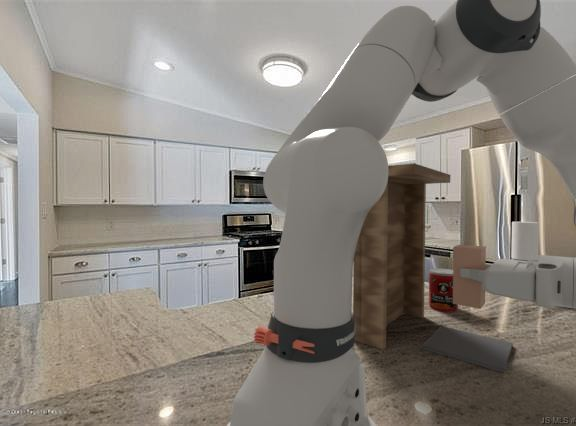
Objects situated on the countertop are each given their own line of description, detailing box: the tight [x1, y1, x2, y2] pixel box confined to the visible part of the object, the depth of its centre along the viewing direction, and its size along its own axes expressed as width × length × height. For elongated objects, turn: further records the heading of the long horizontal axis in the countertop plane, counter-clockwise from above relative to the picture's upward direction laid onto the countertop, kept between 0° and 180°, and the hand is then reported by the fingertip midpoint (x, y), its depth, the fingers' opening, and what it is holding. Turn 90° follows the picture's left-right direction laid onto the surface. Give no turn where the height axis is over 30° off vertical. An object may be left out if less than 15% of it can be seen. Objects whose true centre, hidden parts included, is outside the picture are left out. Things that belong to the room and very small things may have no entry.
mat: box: [422, 325, 514, 374], centre depth 65 cm, size 14×14×1 cm
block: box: [452, 244, 487, 310], centre depth 64 cm, size 5×5×12 cm
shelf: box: [352, 163, 451, 351], centre depth 73 cm, size 13×26×38 cm, turn 139°
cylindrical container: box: [510, 221, 540, 261], centre depth 102 cm, size 7×7×25 cm
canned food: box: [428, 267, 459, 313], centre depth 91 cm, size 8×8×11 cm
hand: (464, 269), depth 65 cm, fingers closed on block, 5 cm apart
